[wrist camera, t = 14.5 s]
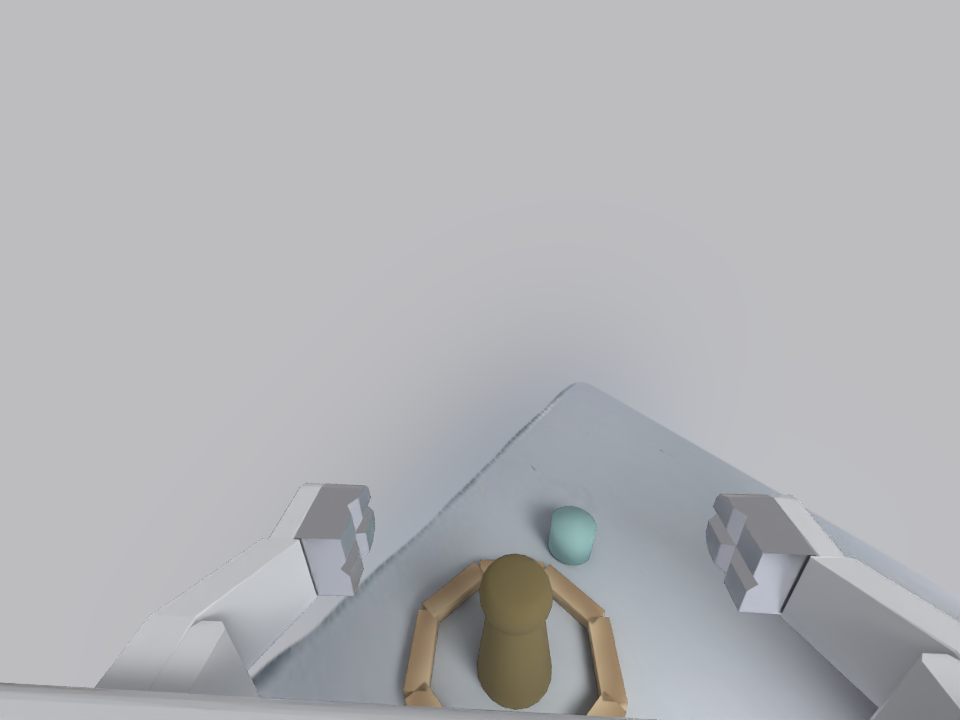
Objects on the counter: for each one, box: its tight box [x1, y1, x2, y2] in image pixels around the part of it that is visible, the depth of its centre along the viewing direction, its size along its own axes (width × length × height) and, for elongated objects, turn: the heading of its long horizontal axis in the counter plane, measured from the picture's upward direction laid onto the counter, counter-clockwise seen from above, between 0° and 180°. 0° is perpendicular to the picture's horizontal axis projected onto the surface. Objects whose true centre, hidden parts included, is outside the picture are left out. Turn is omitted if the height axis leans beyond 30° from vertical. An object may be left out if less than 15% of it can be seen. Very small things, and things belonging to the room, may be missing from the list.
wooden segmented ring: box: [403, 560, 628, 718], centre depth 34 cm, size 17×17×1 cm
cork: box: [477, 554, 553, 710], centre depth 32 cm, size 6×6×11 cm
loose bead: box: [548, 506, 596, 565], centre depth 43 cm, size 4×4×4 cm
